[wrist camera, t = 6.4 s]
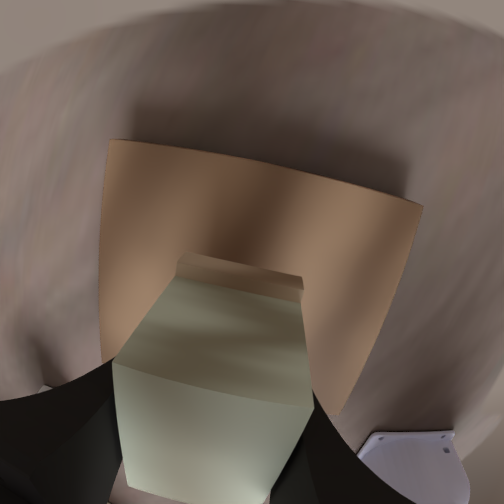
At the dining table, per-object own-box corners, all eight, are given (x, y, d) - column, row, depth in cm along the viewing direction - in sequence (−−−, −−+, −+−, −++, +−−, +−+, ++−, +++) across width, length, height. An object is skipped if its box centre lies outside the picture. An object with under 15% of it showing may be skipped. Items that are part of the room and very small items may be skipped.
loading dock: (405, 198, 17) (423, 206, 14) (334, 390, 21) (338, 415, 19) (130, 139, 17) (109, 138, 14) (116, 343, 21) (102, 362, 19)
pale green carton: (301, 276, 12) (321, 391, 6) (261, 407, 14) (252, 519, 8) (185, 251, 12) (110, 343, 6) (171, 387, 14) (129, 491, 8)
